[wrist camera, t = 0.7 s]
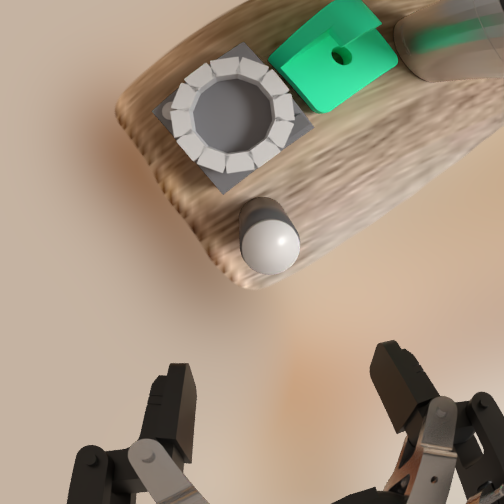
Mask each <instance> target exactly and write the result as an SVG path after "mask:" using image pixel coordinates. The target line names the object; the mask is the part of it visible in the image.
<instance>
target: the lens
mask: <svg viewBox="0 0 504 504" xmlns="http://www.w3.org/2000/svg"><path fill="white" fill-rule="evenodd" d="M239 237H240V251H241V255H242V257H243V259H244V261H245V262H246V263H247V265H248V266H249V267H250V268H251V269H253V270H254V271H256V272H258V273H261V274H267V275H272V274H278V273H281V272H283V271H285V270H287V269H288V268H289V267H291V266H292V265H293V264H294V262H295V261H296V259H297V257H298V255H299V251H300V238H299V234H298V232H297V230H296V229H295V227H294V225H293V224H292V222H291V221H290V219H289V217H288V216H287V214H286V213H285V211H284V209H283V208H282V206H281V205H280V204H279V203H278V202H277V201H275V200H273V199H271V198H267V197H259V198H255V199H253V200H251V201H249V202H248V203H246V204H245V205H244V207H243V208H242V210H241V212H240V215H239Z"/></svg>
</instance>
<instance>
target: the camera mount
mask: <svg viewBox="0 0 504 504" xmlns="http://www.w3.org/2000/svg"><path fill="white" fill-rule="evenodd" d="M381 24H382V23H381V22H380V20H379V19H378V18H377V17H376V16H375V15H374V13H373V12H372V11H371V10H370V9H369V8H368V7H367V6H366V5H365V4H364V3H363V2H362V0H335V1H333V2H331V3H330V4H328V5H327V6H325V7H324V8H323V9H322V10H320V11H319V12H318V13H317V14H315V15H314V16H313V17H312V18H311V19H309V20H308V21H307V22H306V23H305V24H304V25H303V26H301V27H300V28H299V29H298V30H297V31H296V32H295V33H294V34H292V35H291V36H290V37H289V38H288V39H287V40H286V41H285V42H284V43H283V44H282V45H281V46H280V47H278V48H277V49H276V50H275V51H274V52H273V53H272V54H271V55H270V56H269V58H268V61H269V63H270V64H271V65H272V66H273V67H274V68H275V69H276V70H277V71H278V72H279V73H280V74H281V75H282V76H283V77H284V78H285V80H286V81H287V82H288V83H289V84H290V85H291V86H292V87H293V88H294V90H295V91H296V92H297V93H298V94H299V95H300V97H301V98H302V99H303V100H304V101H305V102H306V104H307V105H308V106H309V107H310V109H311V110H312V111H313V112H315V113H318V114H322V113H327V112H330V111H331V110H333V109H334V108H335V107H337V106H338V105H339V104H341V103H342V102H344V101H345V100H346V99H348V98H349V97H351V96H352V95H353V94H355V93H356V92H358V91H359V90H360V89H362V88H363V87H365V86H366V85H368V84H369V83H371V82H372V81H374V80H375V79H376V78H378V77H379V76H381V75H382V74H384V73H385V72H387V71H388V70H390V69H391V68H393V67H395V66H396V65H397V64H398V57H397V55H396V54H395V52H394V51H393V50H392V48H391V47H390V46H389V44H388V43H387V42H386V40H385V39H384V38H383V37H382V35H381V34H380V33H379V32H378V30H377V29H376V27H378V26H380V25H381ZM332 52H335V53H337V54H339V55H340V56H341V57H342V59H343V65H340V64H338V63H337V62H335V61H334V59H333V58H332V54H331V53H332Z"/></svg>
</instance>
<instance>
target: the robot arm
mask: <svg viewBox="0 0 504 504" xmlns="http://www.w3.org/2000/svg"><path fill="white" fill-rule="evenodd" d="M393 36H394V42H395V46H396V49H397V51H398V53H399V55H400V57H401V59H402V60H403V62H404V63H405V64H406V66H407V67H408V68H409V69H410V70H411V71H412V72H413V73H414V74H415V75H417V76H418V77H420V78H421V79H423V80H426V81H428V82H443V81H453V80H466V79H482V78H504V0H440V1H438V2H435V3H433V4H431V5H429V6H427V7H424V8H422V9H420V10H418V11H416V12H414V13H412V14H410V15H408V16H406V17H405V18H403V19H401V20H399V21H398V22H397V24H396V25H395V28H394V35H393ZM370 376H371V379H372V382H373V383H374V386H375V388H376V390H377V392H378V394H379V396H380V398H381V400H382V403H383V405H384V407H385V409H386V411H387V413H388V416H389V418H390V420H391V422H392V424H393V427H394V429H395V431H396V433H397V434H398V433H401V432H404V431H406V433H407V436H406V438H405V440H404V444H403V447H402V450H401V453H400V456H399V459H398V462H397V464H396V467H395V470H394V472H393V474H392V476H391V477H390V479H389V480H388V482H387V484H386V486H385V487H384V490H383V491H377V490H376V487H373V488H370V489H367V490H364V491H361V492H357V493H354V494H350V495H348V496H346V497H344V498H342V499H340V500H338V501H336V502H334V503H332V504H446V500H447V497H448V494H449V490H450V486H451V482H452V478H453V474H454V470H455V468H456V470H457V473H458V475H459V478H460V481H461V484H462V486H463V489H464V492H465V495H466V498H467V503H466V504H504V416H503V414H502V412H501V411H500V409H499V407H498V406H497V404H496V402H495V401H494V399H493V398H492V396H491V395H489V394H488V393H485V392H478V393H476V394H475V395H474V396H473V398H472V399H471V400H470V401H464V402H454V401H453V400H452V399H450V398H448V397H445V396H440V395H439V393H438V392H437V390H436V389H435V387H434V386H433V384H432V382H431V381H430V379H429V378H428V376H427V375H426V373H425V372H424V371H423V369H422V367H421V365H419V362H418V361H417V359H416V358H415V357H414V355H413V354H411V353H410V352H409V351H407V350H406V349H401V348H400V346H399V345H398V343H397V342H396V341H394V340H391V341H387V342H383V343H379V344H378V345H377V347H376V350H375V353H374V356H373V359H372V362H371V365H370ZM149 395H150V397H149V399H148V403H147V404H148V405H147V407H146V411H145V415H144V420H143V425H142V429H141V434H140V437H139V439H138V440H137V441H136V442H135V443H133V444H132V445H131V447H129V448H127V449H122V450H114V451H104V450H103V449H102V448H100V447H98V446H94V445H88V446H85V447H83V448H81V449H80V450H79V452H78V453H77V455H76V459H75V464H74V468H73V473H72V478H71V483H70V488H69V493H68V500H67V504H136V493H139V492H147V491H148V492H149V493H150V495H151V496H152V498H153V499H154V501H155V502H156V504H209V503H208V502H207V500H206V499H205V498H204V497H203V496H202V495H201V494H200V493H199V492H198V490H197V489H196V488H195V487H194V486H193V485H192V483H191V482H190V481H189V480H188V479H187V477H186V476H185V475H184V474H183V467H184V463H192V449H193V435H194V422H195V411H196V400H197V394H196V386H195V382H194V379H193V376H192V372H191V369H190V366H189V364H188V363H179V364H178V363H171V364H170V365H169V369H168V374H167V376H163V375H161V376H160V375H159V376H158V377H157V379H156V380H155V381H154V383H153V384H152V386H151V390H150V394H149ZM475 432H476V434H477V436H478V437H479V440H480V442H481V444H482V446H483V449H484V454H483V453H482V451H481V449H480V447H479V444H478V443H477V440H476V438H475V436H474V433H475Z"/></svg>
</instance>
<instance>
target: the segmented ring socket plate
mask: <svg viewBox="0 0 504 504" xmlns="http://www.w3.org/2000/svg"><path fill="white" fill-rule="evenodd" d="M210 63H211V64H209V65H208V64H207V63H205V64H203V65H202V66H201V67H199V68H198V69H197V70H195V71H194V72H193V73H191V74H190V75H189V76H187V77H186V78H185V79H184V80H185V81H186V82H185V83H181V84H180V86H179V88H178V89H177V90H176V91H174V92H173V93H172V94H171V95H170V96H168V97H167V98H166V99H165V100H164V101H163V102H161V103H160V104H159V105H158V106H157V107H156V108H155V109H154V110H152V112H153V113H154V115H155V116H156V117H157V118H158V119H159V120H160V121H161V123H162V124H163V125H164V126H165V127H166V128H167V130H168V131H169V132H170V133H171V134H172V135H173V137H174V138H175V139H176V140H177V141H176V142H177V143H178V144H179V145H180V146H181V148H182V149H183V150H184V151H185V152H186V153H187V155H188V156H189V157H190V158H191V159H192V161H195V162H196V163H197V165H198V166H199V167H200V168H201V169H202V170H203V172H204V173H205V174H206V175H207V176H208V178H209V179H210V180H211V181H212V182H213V183H214V185H215V186H216V187H217V188H218V189H219V191H220V192H221V193H222V194H223V195H224V194H225V193H226V192H227V191H229V190H230V189H231V188H232V187H234V186H235V185H236V184H238V183H239V182H240V181H241V180H243V179H244V178H245V177H247V176H248V175H249V174H251V173H252V172H253V171H255V170H256V169H257V168H259V167H261V166H262V165H263V164H265V163H266V162H267V161H269V160H270V159H271V158H273V157H274V156H275V155H277V154H278V153H280V152H281V151H282V150H283V149H285V148H286V147H287V146H289V145H290V144H292V143H293V142H294V141H296V140H297V139H299V138H300V137H301V136H303V135H304V134H306V133H307V132H309V131H310V130H312V129H313V128H314V126H313V125H312V124H311V122H310V121H309V120H308V118H307V117H306V115H305V114H304V113H303V111H302V110H301V109H300V107H299V106H298V105H297V104H296V102H295V101H294V100H293V98H292V95H291V94H289V93H288V91H289V89H288V87H287V86H286V85H285V84H284V82H283V81H282V80H281V79H280V78H279V76H278V75H277V74H276V73H275V72H274V70H273V69H272V70H269V69H268V68H269V67H268V66H266V65H264V63H263V62H262V61H261V60H260V59H259V58H258V57H257V56H256V54H255V53H254V52H253V51H252V50H251V49H250V48H249V47H248V46H247V45H246V44H245V43H244V42H242V43H241V44H239V45H238V46H236V47H234V48H233V49H231V50H230V51H228V52H227V53H225V54H224V55H222V56H221V57H219V58H218V59H216V60H212V61H210Z"/></svg>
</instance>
